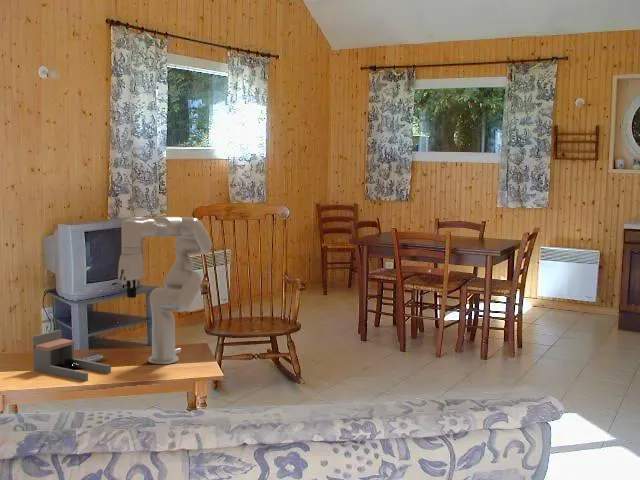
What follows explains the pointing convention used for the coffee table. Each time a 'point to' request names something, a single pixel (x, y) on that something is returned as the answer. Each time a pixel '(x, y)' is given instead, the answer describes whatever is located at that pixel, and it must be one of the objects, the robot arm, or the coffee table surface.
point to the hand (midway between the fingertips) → (131, 297)
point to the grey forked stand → (61, 356)
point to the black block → (69, 364)
